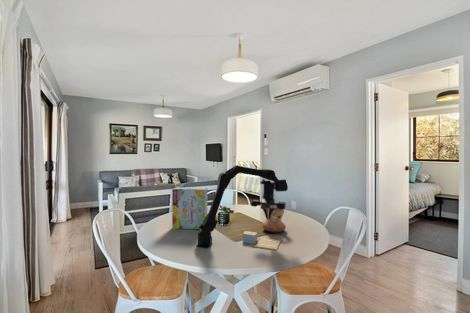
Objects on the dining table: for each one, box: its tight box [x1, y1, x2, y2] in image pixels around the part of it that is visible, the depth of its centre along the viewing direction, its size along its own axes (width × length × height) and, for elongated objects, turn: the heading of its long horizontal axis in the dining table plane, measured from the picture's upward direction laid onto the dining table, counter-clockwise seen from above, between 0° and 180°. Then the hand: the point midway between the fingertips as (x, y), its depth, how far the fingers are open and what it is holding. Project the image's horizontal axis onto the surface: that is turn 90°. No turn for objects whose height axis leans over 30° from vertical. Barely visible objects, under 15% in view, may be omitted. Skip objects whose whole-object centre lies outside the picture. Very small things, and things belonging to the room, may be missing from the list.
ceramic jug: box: [262, 207, 287, 234], centre depth 155 cm, size 18×14×14 cm
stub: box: [242, 230, 258, 245], centre depth 135 cm, size 7×5×5 cm
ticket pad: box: [253, 237, 282, 251], centre depth 132 cm, size 12×13×1 cm
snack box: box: [171, 186, 208, 230], centre depth 158 cm, size 22×9×26 cm, turn 84°
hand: (268, 219), depth 137 cm, fingers closed
